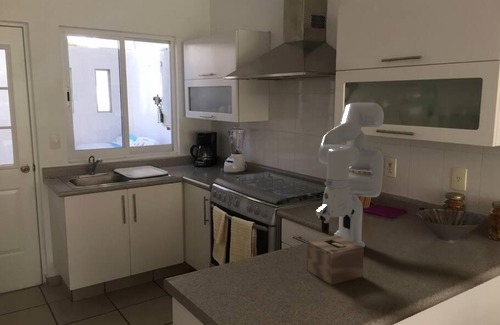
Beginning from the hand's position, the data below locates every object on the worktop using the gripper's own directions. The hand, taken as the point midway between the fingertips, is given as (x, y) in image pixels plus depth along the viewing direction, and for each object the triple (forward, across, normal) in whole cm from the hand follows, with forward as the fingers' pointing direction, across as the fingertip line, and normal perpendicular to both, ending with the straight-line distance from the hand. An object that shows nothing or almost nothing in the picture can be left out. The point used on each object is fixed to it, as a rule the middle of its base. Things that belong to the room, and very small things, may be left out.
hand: (336, 230), depth 148 cm
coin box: (+16, -1, -1) cm, 16 cm away
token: (+10, -1, -3) cm, 11 cm away
